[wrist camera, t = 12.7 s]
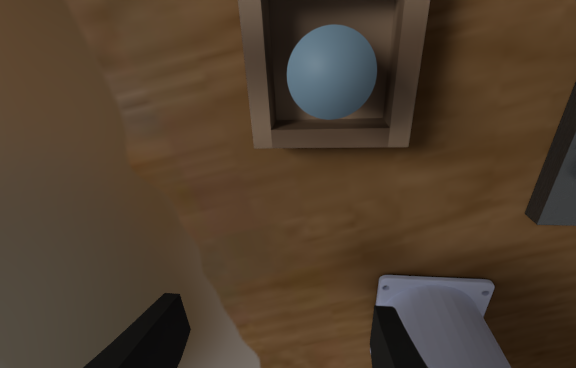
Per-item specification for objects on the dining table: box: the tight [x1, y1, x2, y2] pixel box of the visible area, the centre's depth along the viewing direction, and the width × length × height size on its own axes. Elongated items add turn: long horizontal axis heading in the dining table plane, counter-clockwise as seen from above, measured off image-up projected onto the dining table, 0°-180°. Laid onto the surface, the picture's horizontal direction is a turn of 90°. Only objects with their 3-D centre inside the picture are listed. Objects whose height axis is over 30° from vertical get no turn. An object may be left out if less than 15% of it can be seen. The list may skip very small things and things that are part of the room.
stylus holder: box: [238, 0, 430, 148], centre depth 14 cm, size 8×8×3 cm
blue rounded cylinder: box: [287, 24, 377, 120], centre depth 12 cm, size 3×3×6 cm
